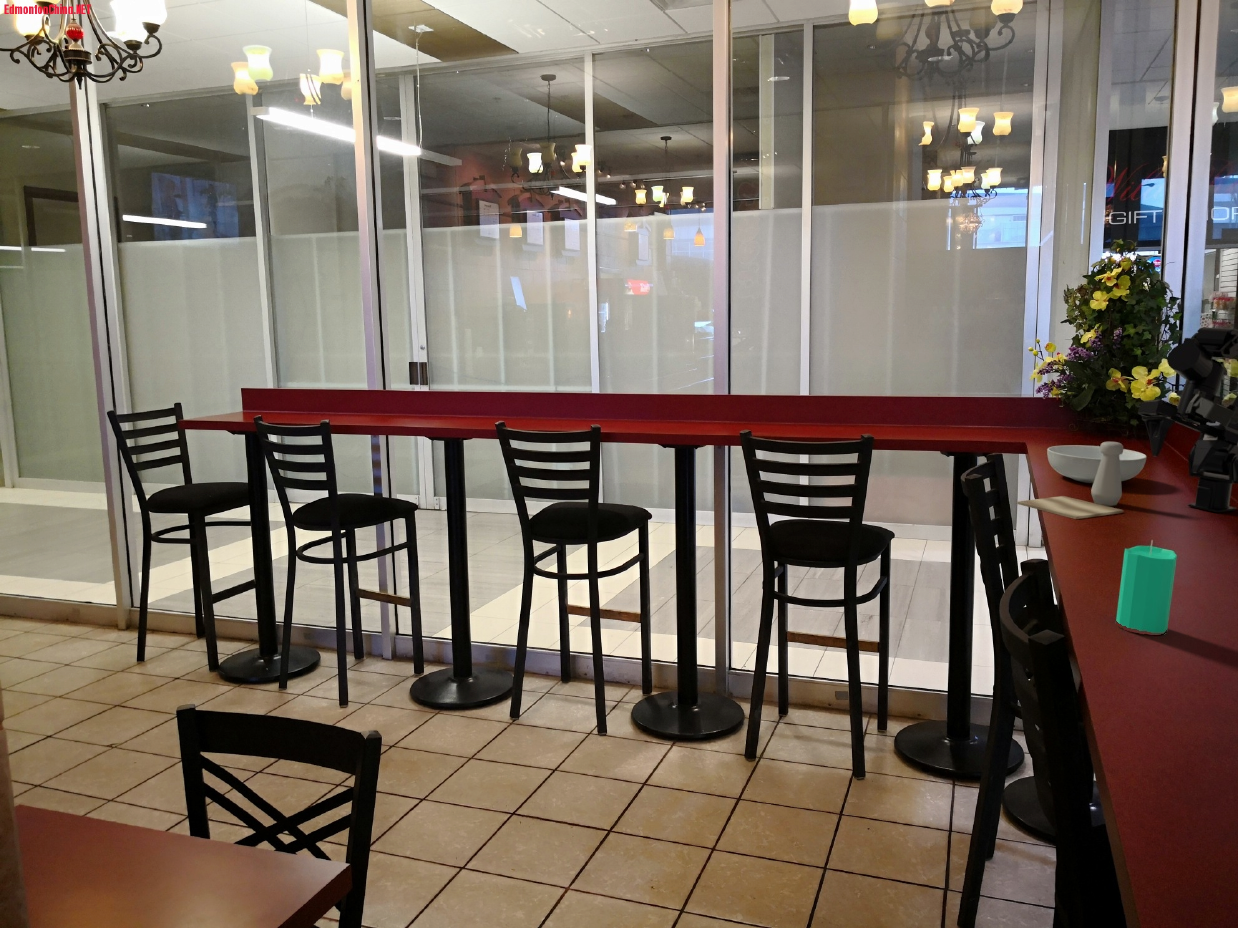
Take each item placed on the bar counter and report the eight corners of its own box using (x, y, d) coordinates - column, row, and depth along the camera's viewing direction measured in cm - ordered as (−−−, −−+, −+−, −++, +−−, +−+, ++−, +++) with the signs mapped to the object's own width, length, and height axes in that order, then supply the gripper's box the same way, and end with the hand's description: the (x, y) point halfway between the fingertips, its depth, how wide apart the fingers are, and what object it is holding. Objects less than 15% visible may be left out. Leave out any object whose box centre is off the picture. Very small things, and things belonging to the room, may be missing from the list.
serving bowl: (1120, 473, 236) (1124, 445, 234) (1159, 491, 215) (1163, 461, 214) (1032, 470, 238) (1035, 442, 236) (1062, 488, 217) (1065, 458, 216)
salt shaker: (1103, 507, 198) (1110, 445, 196) (1083, 501, 204) (1090, 440, 201) (1126, 506, 200) (1134, 444, 197) (1106, 500, 205) (1113, 439, 203)
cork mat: (1063, 498, 206) (1063, 495, 206) (1123, 512, 194) (1123, 510, 194) (1017, 503, 200) (1017, 501, 200) (1075, 519, 187) (1076, 516, 187)
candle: (1150, 620, 131) (1161, 534, 129) (1176, 636, 125) (1188, 546, 123) (1106, 619, 131) (1117, 534, 128) (1131, 635, 125) (1142, 546, 123)
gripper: (1190, 368, 179) (1163, 448, 178) (1274, 403, 181) (1248, 482, 181) (1148, 373, 190) (1123, 448, 189) (1228, 406, 192) (1203, 480, 192)
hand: (1175, 464), depth 187 cm, fingers open, 9 cm apart
